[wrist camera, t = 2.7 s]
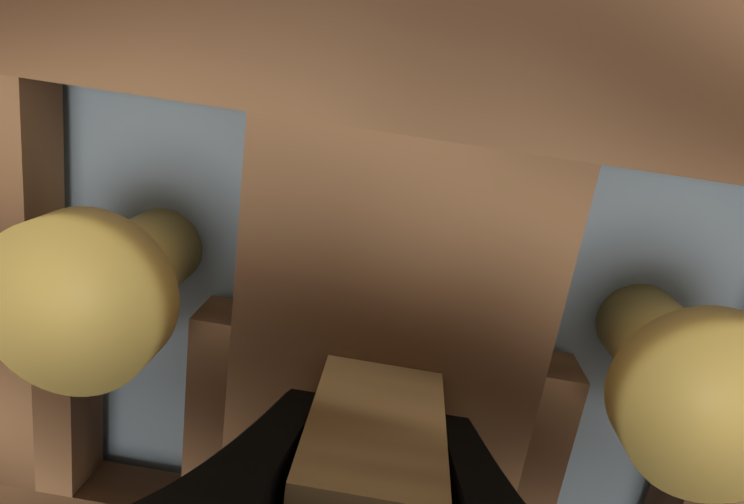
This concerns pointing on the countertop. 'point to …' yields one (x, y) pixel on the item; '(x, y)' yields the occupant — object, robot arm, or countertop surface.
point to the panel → (374, 217)
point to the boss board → (216, 277)
